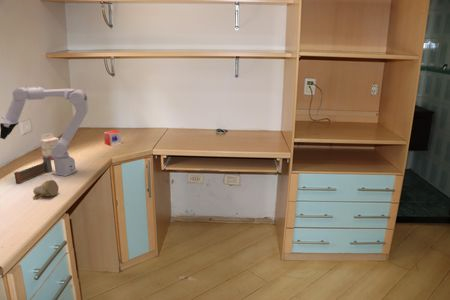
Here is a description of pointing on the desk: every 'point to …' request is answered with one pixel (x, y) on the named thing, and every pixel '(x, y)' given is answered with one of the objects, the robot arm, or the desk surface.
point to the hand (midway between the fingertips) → (4, 136)
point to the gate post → (47, 163)
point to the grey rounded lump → (46, 189)
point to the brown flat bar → (30, 172)
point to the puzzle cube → (112, 138)
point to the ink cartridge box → (48, 144)
